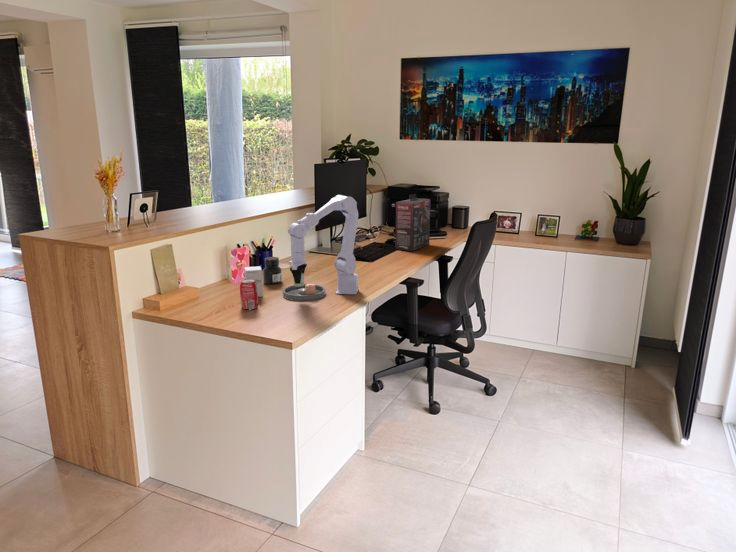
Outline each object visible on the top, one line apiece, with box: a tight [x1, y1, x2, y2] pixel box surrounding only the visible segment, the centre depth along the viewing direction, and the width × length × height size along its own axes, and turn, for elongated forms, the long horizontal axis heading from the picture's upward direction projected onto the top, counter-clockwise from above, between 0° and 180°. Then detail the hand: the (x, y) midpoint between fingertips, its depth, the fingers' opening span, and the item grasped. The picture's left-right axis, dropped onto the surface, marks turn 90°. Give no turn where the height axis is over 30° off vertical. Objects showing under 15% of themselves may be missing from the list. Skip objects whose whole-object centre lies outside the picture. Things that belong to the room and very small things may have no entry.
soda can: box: [239, 278, 259, 310], centre depth 230 cm, size 7×7×12 cm
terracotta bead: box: [305, 283, 316, 295], centre depth 245 cm, size 4×4×5 cm
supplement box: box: [243, 265, 264, 298], centre depth 248 cm, size 7×7×13 cm
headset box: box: [394, 193, 431, 252], centre depth 344 cm, size 25×12×33 cm, turn 148°
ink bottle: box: [262, 256, 283, 285], centre depth 269 cm, size 10×9×12 cm
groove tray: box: [282, 283, 326, 301], centre depth 250 cm, size 19×19×2 cm
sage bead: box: [293, 272, 305, 287], centre depth 240 cm, size 4×4×5 cm
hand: (299, 281), depth 240 cm, fingers closed on sage bead, 4 cm apart
